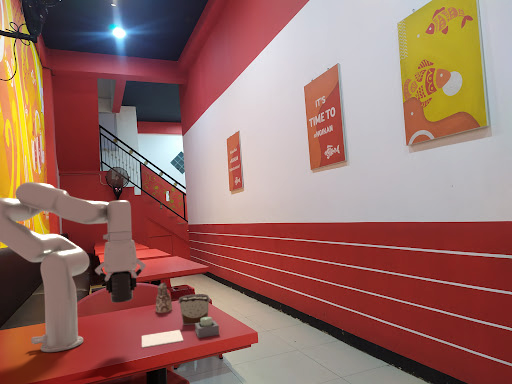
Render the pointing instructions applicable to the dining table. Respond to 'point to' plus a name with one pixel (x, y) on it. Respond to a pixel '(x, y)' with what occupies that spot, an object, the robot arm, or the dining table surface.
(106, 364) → the dining table surface
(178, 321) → the dining table surface
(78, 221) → the robot arm
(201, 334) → the button housing
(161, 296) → the figurine
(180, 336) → the paper sheet
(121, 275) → the supplement bottle
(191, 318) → the food container
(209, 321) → the button
